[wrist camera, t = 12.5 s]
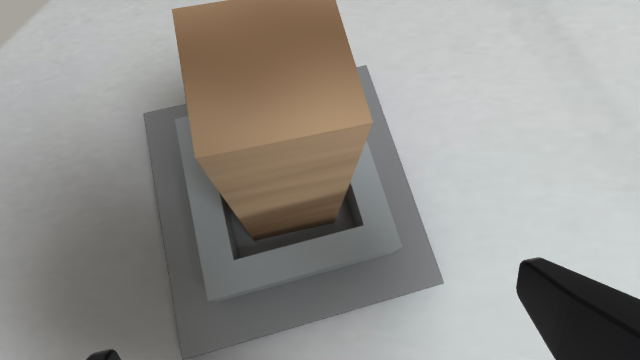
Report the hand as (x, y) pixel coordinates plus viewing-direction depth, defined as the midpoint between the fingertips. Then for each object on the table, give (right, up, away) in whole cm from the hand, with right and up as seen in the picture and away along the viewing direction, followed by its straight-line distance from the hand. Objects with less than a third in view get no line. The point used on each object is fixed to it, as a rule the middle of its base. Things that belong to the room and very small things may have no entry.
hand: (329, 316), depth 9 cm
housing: (-2, +2, +15) cm, 15 cm away
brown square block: (-2, +2, +14) cm, 14 cm away
